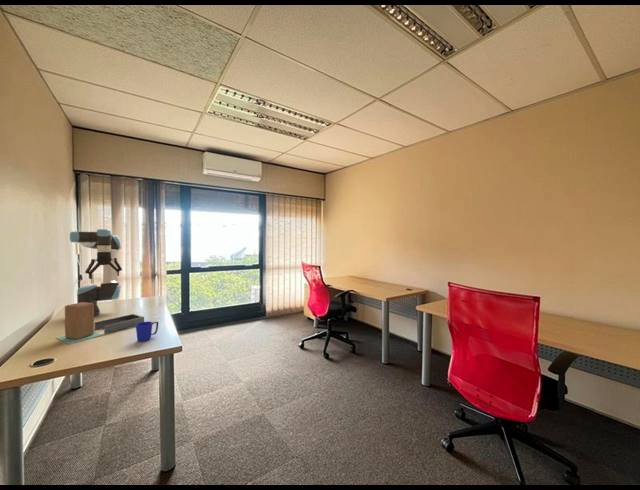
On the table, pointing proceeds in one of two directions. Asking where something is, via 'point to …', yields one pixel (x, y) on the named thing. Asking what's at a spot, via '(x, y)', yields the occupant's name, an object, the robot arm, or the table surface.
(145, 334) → the mug
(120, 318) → the chute
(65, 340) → the pad
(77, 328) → the wooden block
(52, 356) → the table surface
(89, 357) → the table surface
